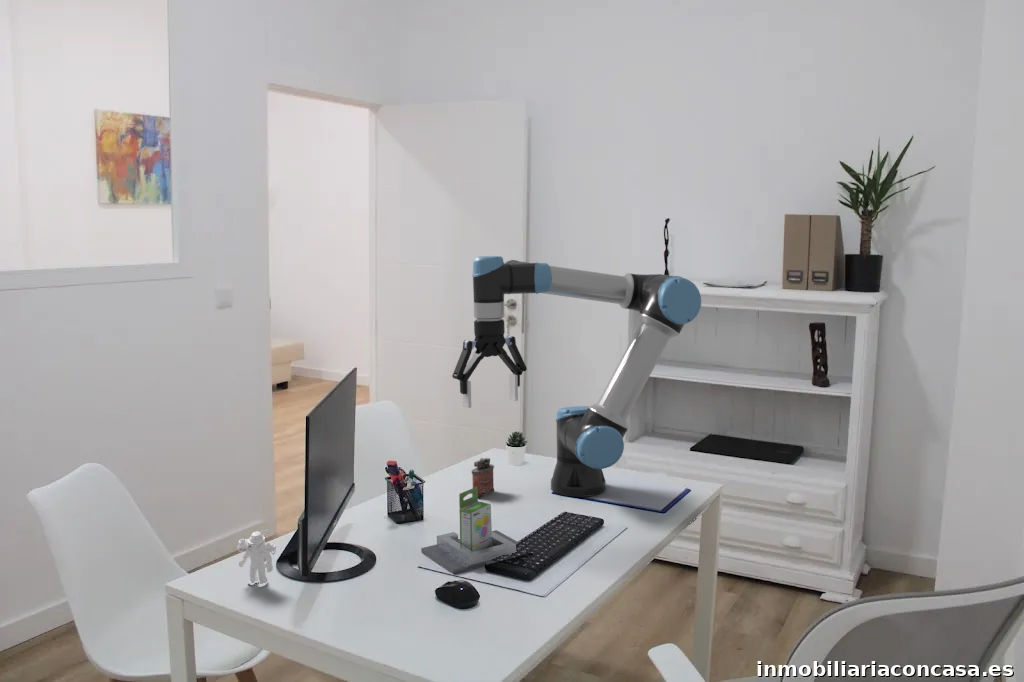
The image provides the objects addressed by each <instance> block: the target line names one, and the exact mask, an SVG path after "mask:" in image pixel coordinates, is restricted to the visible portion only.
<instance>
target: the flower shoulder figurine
mask: <svg viewBox="0 0 1024 682" xmlns="http://www.w3.org/2000/svg"><path fill="white" fill-rule="evenodd" d="M270 530H271V528H267V529H264V530H262V529H261V530H260V531H253V532H252V533H251V535H250V536H249V538H245V537H243V538H239V540H238V545H237V546H236V550H237V551H238V552H239V553H243V551H244V549H245V551H244V552H245V553H244V554H243V556H242V557H241V559H240V560H239V562H238V566H239V567H240V568H242V567H244V564H245V563H247V561H248V559H250V566H249V581H248V582H250V583H254V582H255V581H259V584H263V583H266V582H267V581H268V582H269V580H268V577H267V576H266V573H271V572H272V571H273V569H274V567H273V563H272V562H273V558H272V555H273V556H274V555H275V554H276V552H277V545H275V543H274V542H270V541H267V542H266V541H265V540H266V537H265V535H266V534H269V533H270ZM241 549H242V550H241ZM271 554H272V555H271ZM265 562H266V563H265ZM257 573H258V574H257Z"/></svg>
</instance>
